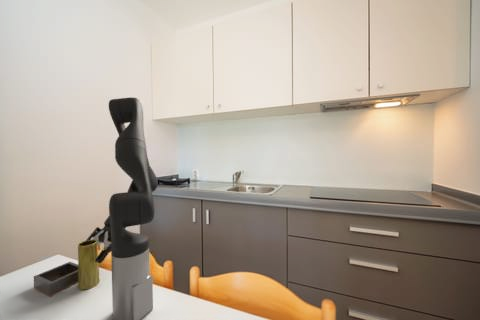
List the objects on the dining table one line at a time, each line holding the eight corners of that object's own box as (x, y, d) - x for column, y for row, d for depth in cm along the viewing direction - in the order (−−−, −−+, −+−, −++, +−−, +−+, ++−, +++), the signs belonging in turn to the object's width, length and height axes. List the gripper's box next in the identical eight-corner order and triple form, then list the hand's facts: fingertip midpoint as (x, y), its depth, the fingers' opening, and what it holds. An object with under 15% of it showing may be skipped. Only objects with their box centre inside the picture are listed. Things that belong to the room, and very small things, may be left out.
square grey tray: (86, 278, 73) (86, 267, 73) (50, 296, 63) (49, 284, 63) (70, 272, 77) (69, 261, 77) (33, 288, 68) (33, 276, 68)
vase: (80, 292, 65) (79, 248, 65) (74, 285, 69) (73, 243, 69) (102, 283, 70) (101, 241, 70) (96, 277, 74) (95, 237, 73)
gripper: (102, 210, 80) (68, 251, 70) (127, 214, 74) (94, 260, 64) (115, 219, 85) (86, 259, 75) (139, 224, 79) (111, 268, 69)
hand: (90, 259), depth 70 cm, fingers open, 8 cm apart
